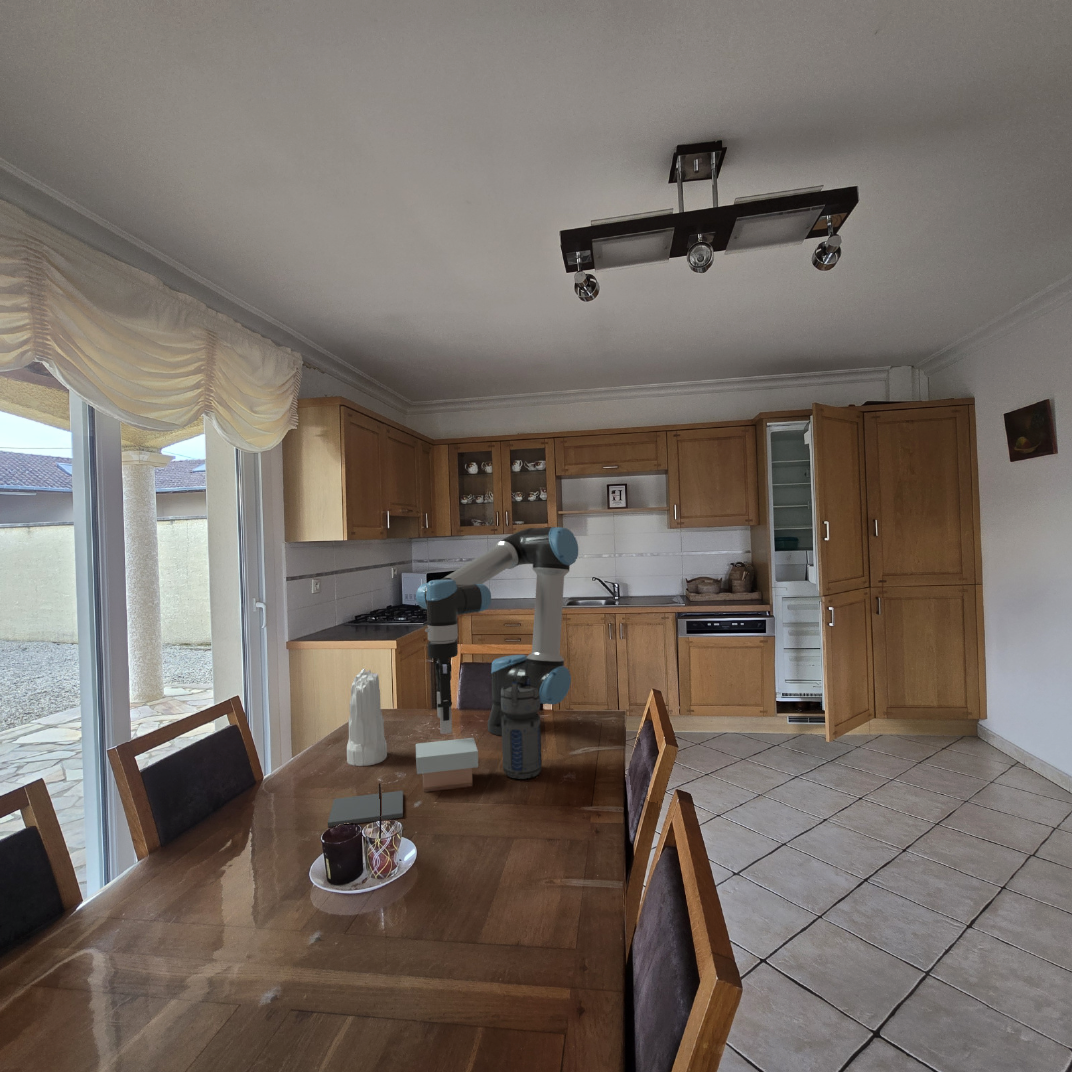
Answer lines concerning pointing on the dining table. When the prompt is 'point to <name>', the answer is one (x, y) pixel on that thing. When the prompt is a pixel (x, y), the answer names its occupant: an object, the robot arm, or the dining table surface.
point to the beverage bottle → (521, 730)
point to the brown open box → (447, 779)
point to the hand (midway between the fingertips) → (444, 724)
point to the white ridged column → (366, 722)
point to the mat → (366, 808)
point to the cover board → (446, 755)
